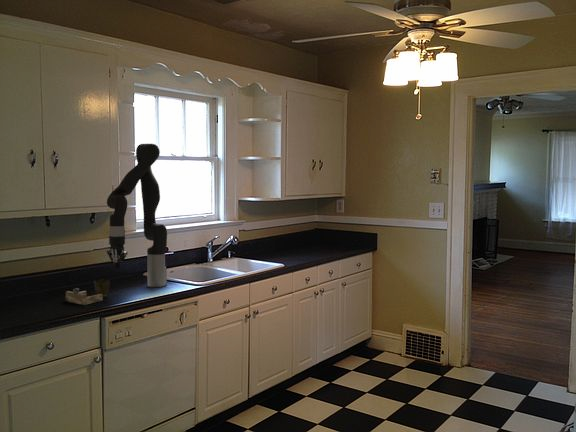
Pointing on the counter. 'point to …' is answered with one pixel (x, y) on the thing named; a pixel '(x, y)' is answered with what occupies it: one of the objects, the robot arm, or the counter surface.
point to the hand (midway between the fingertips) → (117, 269)
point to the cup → (102, 286)
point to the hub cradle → (82, 297)
